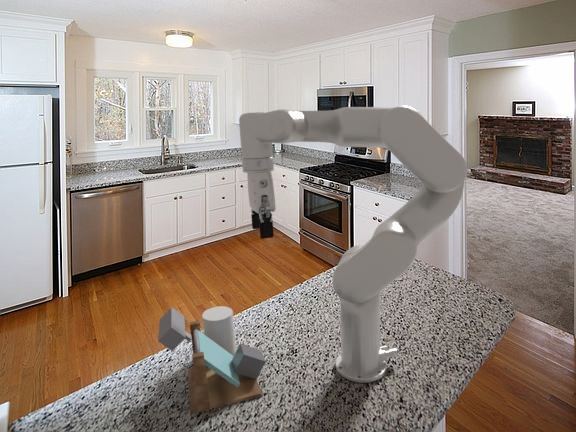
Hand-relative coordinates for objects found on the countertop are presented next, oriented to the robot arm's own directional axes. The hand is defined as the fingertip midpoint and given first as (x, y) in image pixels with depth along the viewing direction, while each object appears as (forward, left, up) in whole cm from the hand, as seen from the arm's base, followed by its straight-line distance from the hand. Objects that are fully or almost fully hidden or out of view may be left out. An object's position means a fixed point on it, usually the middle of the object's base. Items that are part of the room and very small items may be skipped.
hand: (262, 232), depth 95 cm
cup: (+13, -5, -34) cm, 37 cm away
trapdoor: (+20, +8, -25) cm, 33 cm away
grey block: (+10, +8, -28) cm, 31 cm away
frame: (+14, +8, -34) cm, 38 cm away
